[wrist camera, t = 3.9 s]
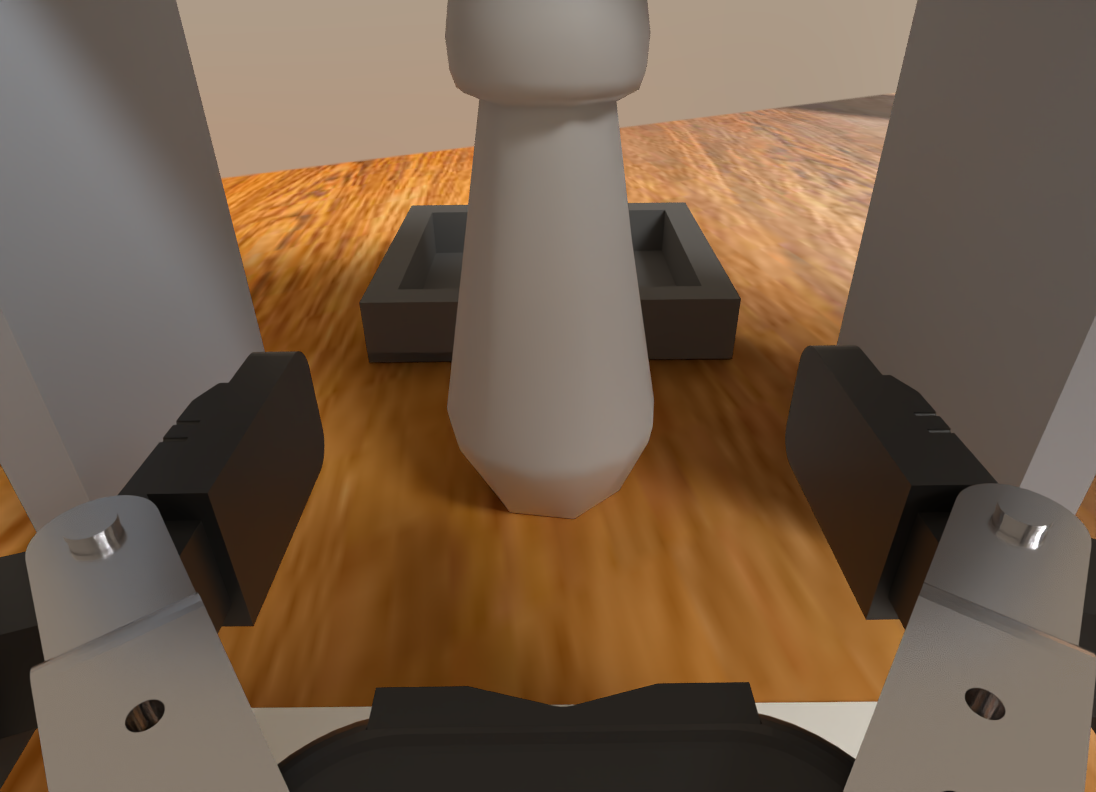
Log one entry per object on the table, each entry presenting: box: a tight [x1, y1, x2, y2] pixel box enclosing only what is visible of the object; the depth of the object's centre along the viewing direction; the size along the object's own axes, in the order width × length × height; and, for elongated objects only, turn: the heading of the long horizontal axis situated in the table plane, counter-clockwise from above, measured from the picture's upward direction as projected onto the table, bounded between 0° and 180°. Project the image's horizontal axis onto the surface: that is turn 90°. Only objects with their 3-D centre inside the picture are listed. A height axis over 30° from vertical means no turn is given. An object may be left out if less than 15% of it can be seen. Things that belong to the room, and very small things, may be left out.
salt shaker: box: [445, 0, 654, 519], centre depth 18 cm, size 6×6×13 cm
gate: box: [0, 0, 1096, 532], centre depth 16 cm, size 23×10×20 cm, turn 90°
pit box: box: [359, 203, 741, 362], centre depth 31 cm, size 14×12×2 cm
